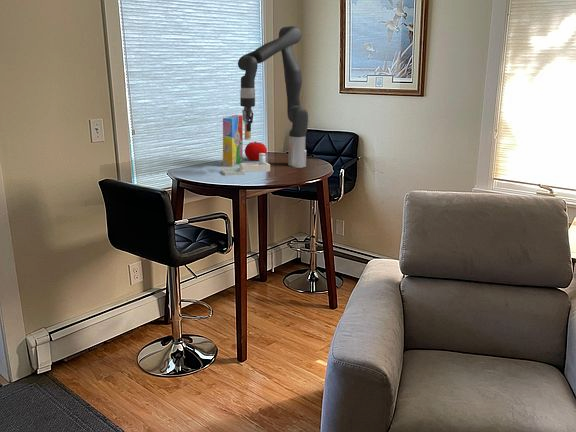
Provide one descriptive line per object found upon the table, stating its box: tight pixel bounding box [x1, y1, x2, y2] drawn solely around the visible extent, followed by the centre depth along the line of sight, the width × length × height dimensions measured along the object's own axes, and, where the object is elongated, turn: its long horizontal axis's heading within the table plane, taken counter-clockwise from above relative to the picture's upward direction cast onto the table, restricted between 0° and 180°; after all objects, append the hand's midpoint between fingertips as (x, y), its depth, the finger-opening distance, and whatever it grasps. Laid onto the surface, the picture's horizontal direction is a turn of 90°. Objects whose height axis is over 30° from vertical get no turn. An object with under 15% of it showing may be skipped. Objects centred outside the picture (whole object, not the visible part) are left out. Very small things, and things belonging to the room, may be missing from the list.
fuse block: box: [239, 161, 271, 173], centre depth 287 cm, size 15×7×4 cm, turn 109°
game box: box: [222, 114, 244, 168], centre depth 303 cm, size 21×6×27 cm, turn 168°
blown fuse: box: [243, 121, 252, 141], centre depth 281 cm, size 3×3×9 cm
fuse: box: [258, 153, 266, 165], centre depth 288 cm, size 3×3×9 cm
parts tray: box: [220, 167, 245, 176], centre depth 280 cm, size 10×10×2 cm
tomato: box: [244, 141, 268, 161], centre depth 323 cm, size 12×13×11 cm
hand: (247, 130), depth 281 cm, fingers closed on blown fuse, 3 cm apart
